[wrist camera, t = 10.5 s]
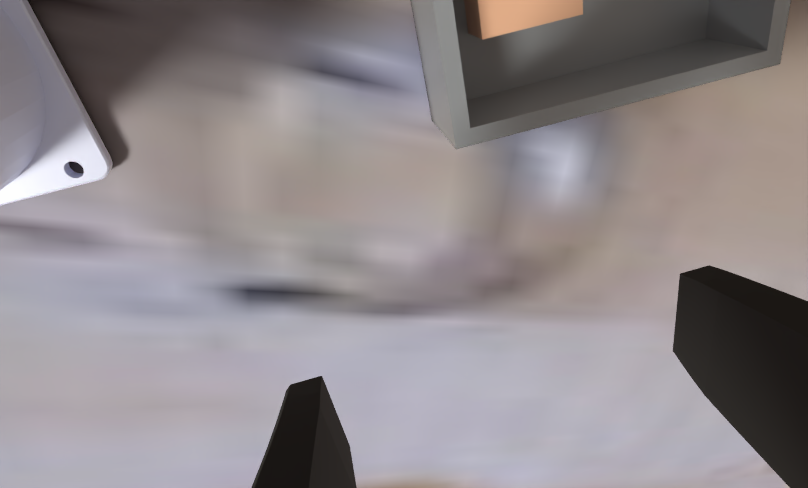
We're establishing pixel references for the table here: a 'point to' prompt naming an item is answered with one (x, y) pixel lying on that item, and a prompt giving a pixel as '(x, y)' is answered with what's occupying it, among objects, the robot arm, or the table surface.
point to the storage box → (579, 56)
